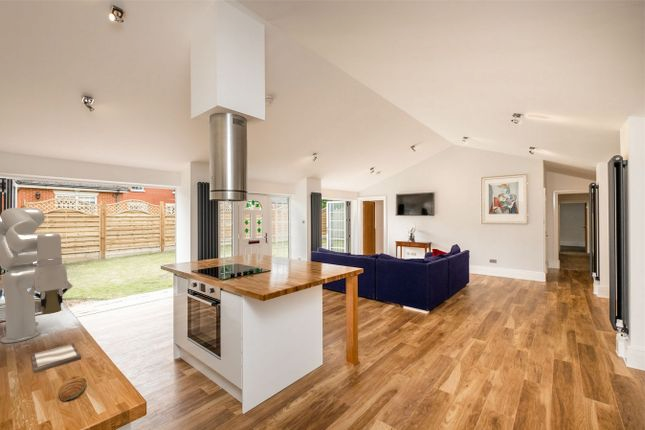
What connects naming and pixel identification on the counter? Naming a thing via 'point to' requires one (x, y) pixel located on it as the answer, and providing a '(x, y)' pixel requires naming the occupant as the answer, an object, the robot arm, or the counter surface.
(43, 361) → the silver rectangular plate
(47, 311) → the cork
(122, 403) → the counter surface
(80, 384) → the pastry
